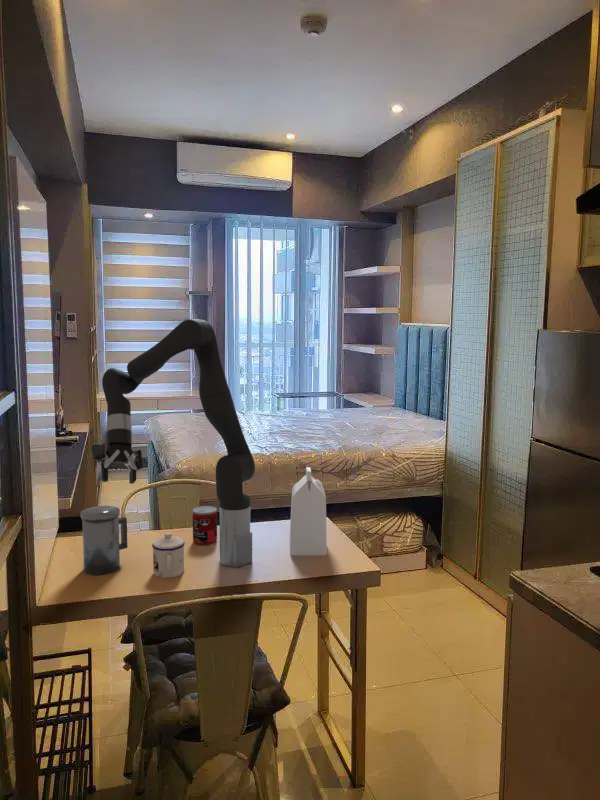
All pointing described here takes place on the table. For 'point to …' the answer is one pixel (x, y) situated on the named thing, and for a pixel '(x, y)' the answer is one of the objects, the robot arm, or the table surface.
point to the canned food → (205, 525)
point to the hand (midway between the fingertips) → (119, 482)
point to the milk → (308, 517)
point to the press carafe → (102, 539)
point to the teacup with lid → (168, 556)
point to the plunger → (98, 456)
